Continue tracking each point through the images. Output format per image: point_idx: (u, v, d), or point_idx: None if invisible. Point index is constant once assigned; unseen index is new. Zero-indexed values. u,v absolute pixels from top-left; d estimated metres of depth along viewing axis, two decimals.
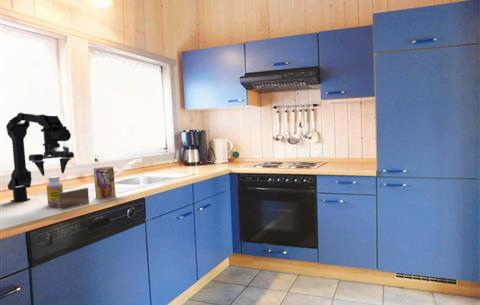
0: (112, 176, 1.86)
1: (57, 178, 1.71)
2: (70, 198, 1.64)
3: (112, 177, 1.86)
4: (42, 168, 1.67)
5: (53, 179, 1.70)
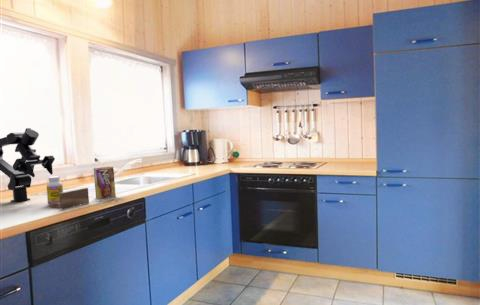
0: (112, 176, 1.86)
1: (57, 178, 1.71)
2: (70, 198, 1.64)
3: (112, 177, 1.86)
4: None
5: (53, 179, 1.70)
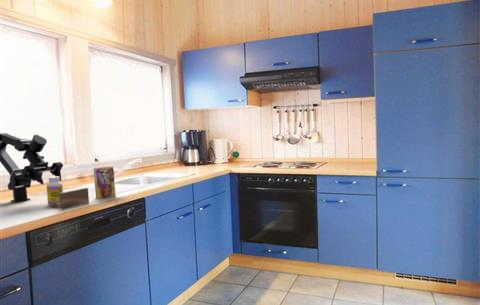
0: (112, 176, 1.86)
1: (57, 178, 1.71)
2: (70, 198, 1.64)
3: (112, 177, 1.86)
4: None
5: (53, 179, 1.70)
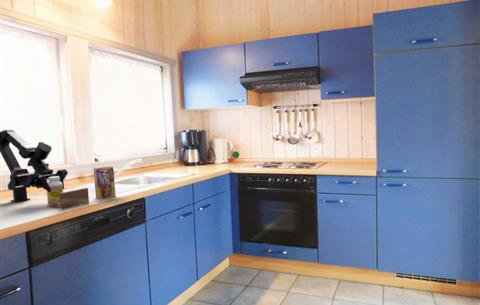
0: (112, 176, 1.86)
1: (57, 178, 1.71)
2: (70, 198, 1.64)
3: (112, 177, 1.86)
4: None
5: (53, 179, 1.70)
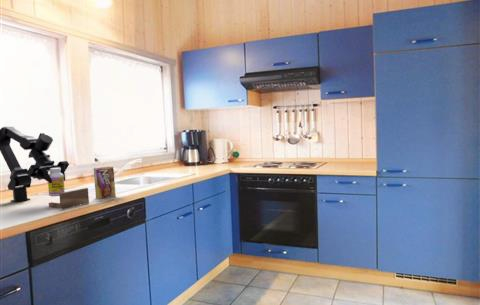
0: (112, 176, 1.86)
1: (58, 169, 1.70)
2: (70, 198, 1.64)
3: (112, 177, 1.86)
4: None
5: (54, 170, 1.69)
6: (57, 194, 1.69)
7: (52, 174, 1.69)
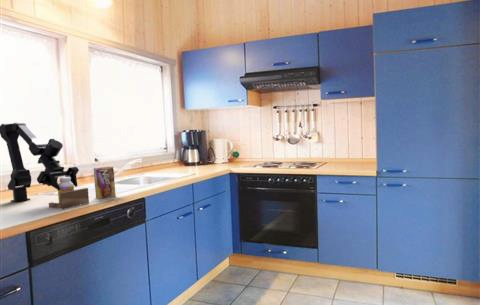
0: (112, 176, 1.86)
1: (68, 178, 1.68)
2: (70, 198, 1.64)
3: (112, 177, 1.86)
4: None
5: (64, 180, 1.67)
6: None
7: (62, 183, 1.66)
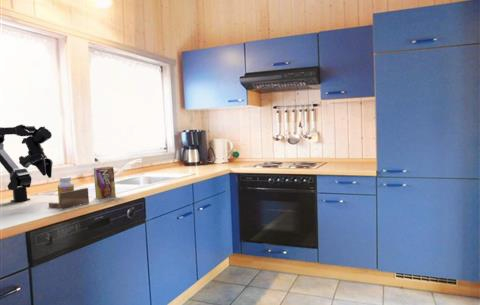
0: (112, 176, 1.86)
1: (68, 178, 1.68)
2: (70, 198, 1.64)
3: (112, 177, 1.86)
4: (45, 172, 1.83)
5: (64, 180, 1.67)
6: None
7: (62, 183, 1.66)
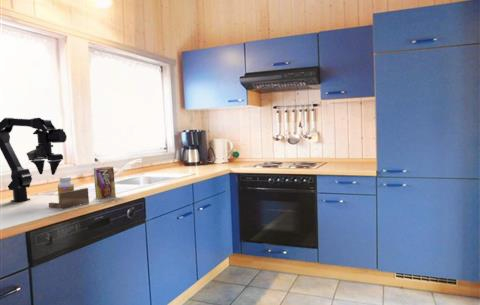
0: (112, 176, 1.86)
1: (68, 178, 1.68)
2: (70, 198, 1.64)
3: (112, 177, 1.86)
4: (37, 167, 1.83)
5: (64, 180, 1.67)
6: None
7: (62, 183, 1.66)
